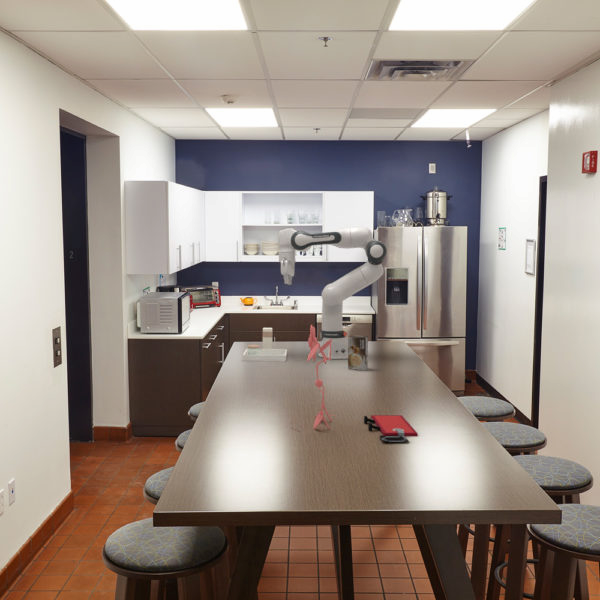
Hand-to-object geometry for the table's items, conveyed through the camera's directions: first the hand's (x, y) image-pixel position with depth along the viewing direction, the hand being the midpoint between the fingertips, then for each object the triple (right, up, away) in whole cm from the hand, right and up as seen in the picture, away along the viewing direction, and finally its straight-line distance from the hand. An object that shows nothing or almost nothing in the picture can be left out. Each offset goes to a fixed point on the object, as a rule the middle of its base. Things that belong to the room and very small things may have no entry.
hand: (288, 284), depth 352 cm
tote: (-12, -40, -8) cm, 42 cm away
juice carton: (-11, -38, +9) cm, 41 cm away
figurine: (+10, -52, -122) cm, 133 cm away
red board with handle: (+37, -53, -128) cm, 143 cm away
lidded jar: (-18, -39, -10) cm, 44 cm away
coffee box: (+35, -42, -28) cm, 62 cm away
